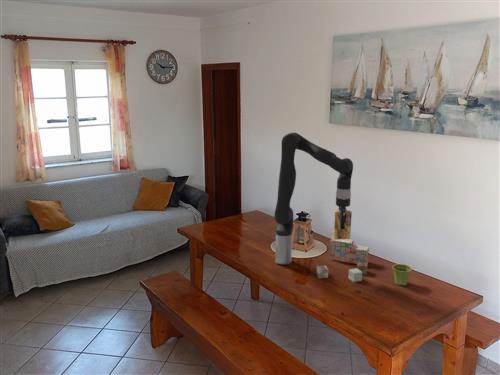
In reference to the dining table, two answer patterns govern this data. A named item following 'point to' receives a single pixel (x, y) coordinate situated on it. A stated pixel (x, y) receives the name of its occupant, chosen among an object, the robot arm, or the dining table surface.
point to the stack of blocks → (348, 251)
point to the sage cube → (355, 275)
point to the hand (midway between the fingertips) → (341, 227)
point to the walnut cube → (362, 267)
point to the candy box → (337, 231)
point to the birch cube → (322, 271)
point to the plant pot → (401, 273)
